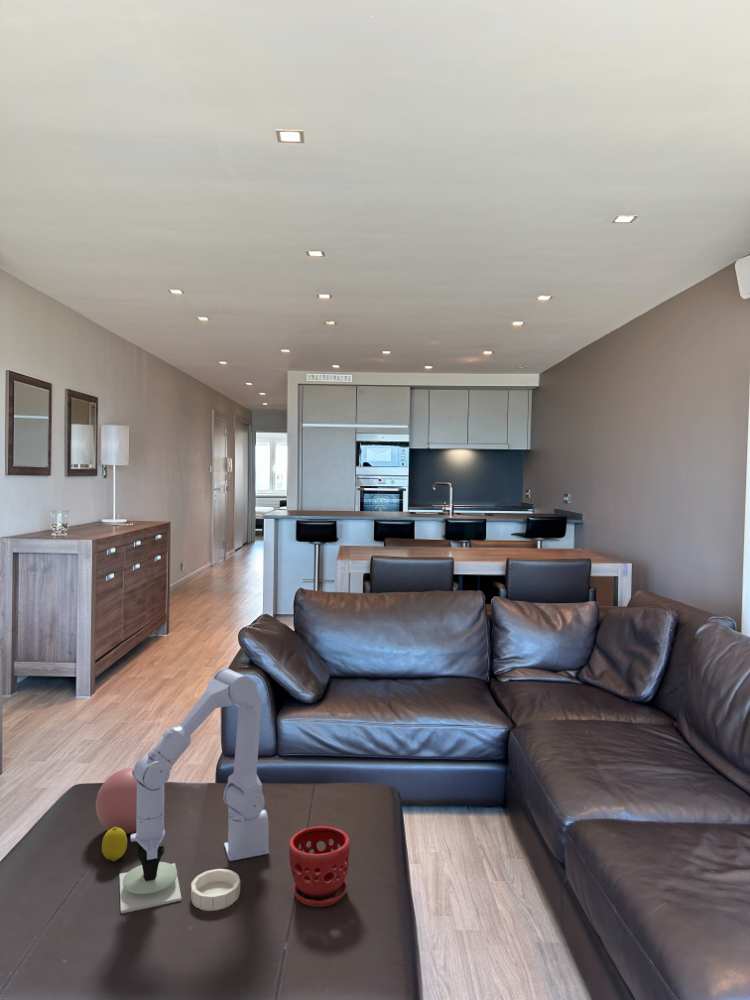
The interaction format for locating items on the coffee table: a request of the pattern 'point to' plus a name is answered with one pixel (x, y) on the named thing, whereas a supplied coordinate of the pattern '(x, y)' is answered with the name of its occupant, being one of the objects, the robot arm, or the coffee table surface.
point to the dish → (215, 889)
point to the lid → (138, 885)
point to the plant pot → (319, 865)
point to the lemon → (114, 843)
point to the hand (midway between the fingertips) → (149, 875)
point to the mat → (148, 897)
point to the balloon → (118, 801)
